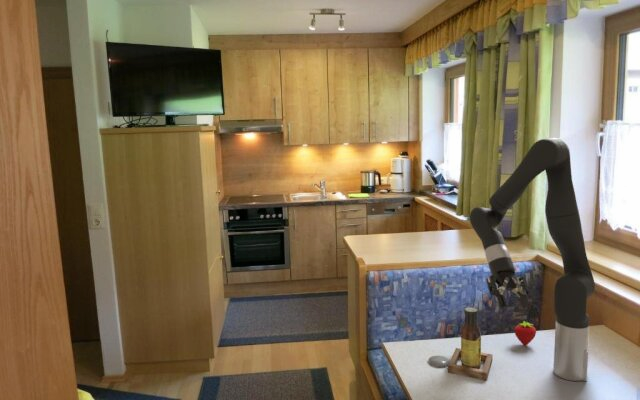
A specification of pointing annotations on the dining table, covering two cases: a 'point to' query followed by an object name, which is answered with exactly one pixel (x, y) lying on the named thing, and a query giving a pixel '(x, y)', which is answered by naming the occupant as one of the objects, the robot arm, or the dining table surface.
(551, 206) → the robot arm
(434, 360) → the coaster
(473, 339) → the sauce bottle
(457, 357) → the pocket frame
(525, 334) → the strawberry
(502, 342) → the dining table surface
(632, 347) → the dining table surface
